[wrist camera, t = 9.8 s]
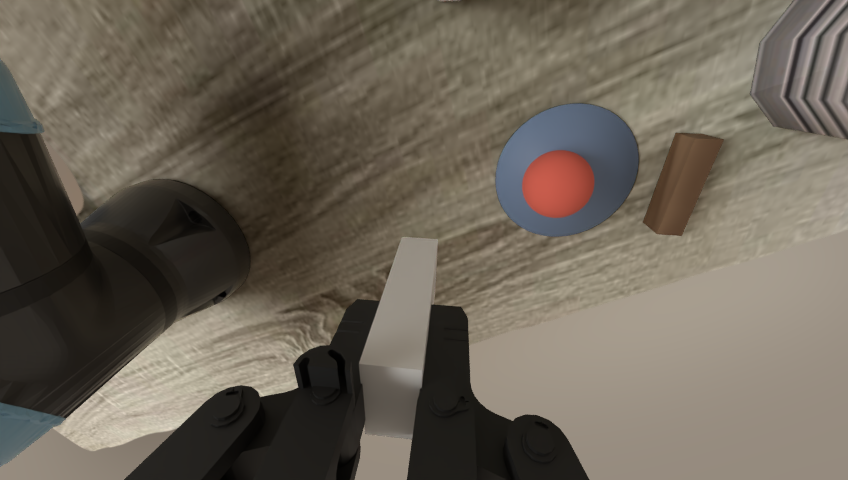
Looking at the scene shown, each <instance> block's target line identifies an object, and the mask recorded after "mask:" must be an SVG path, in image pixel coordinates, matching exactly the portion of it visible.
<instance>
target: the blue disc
mask: <svg viewBox="0 0 848 480" xmlns="http://www.w3.org/2000/svg"><path fill="white" fill-rule="evenodd" d="M555 150H566V151H571V152H574V153H576V154H578V155H580V156H581V157H583V158H584V159H585V160H586V161H587V162H588V164H589V165H590V167H591V169H592V171H593V174H594V190H593V193H592V195H591V197H590V199H589V201H588V202H587V203H586V205H585V206H584V207H583V208H582V209H580V210H579V211H577V212H576V213H574V214H572V215H569V216H566V217H561V218H551V217H546V216H543V215H540V214H538V213H537V212H535V211H534V210H533V209H532V208H531V207H530V206H529V205H528V204H527V202H526V200H525V198H524V195H523V191H522V181H523V177H524V174H525V172H526V170H527V168H528V167H529V165H530V164H531V163H532V162H533V161H534V160H535V159H536V158H538V157H539V156H541V155H543V154H545V153H547V152H550V151H555ZM638 163H639V158H638V149H637V144H636V141H635V138H634V136H633V134H632V132H631V130H630V129H629V127H628V126H627V125H626V124H625V122H624V121H623V120H621V119H620V118H619V117H618V116H617V115H615V114H614V113H612V112H610V111H609V110H606V109H604V108H601V107H598V106H594V105H590V104H581V103H578V104H566V105H560V106H557V107H553V108H550V109H548V110H545V111H543V112H541V113H539V114H537V115H536V116H534V117H532V118H531V119H529V120H528V121H527V122H525V123H524V124H523V125H522V126H521V127H520V128H519V129H518V130H517V131H516V132H515V133H514V134H513V135H512V137H511V138H510V139H509V141H508V142H507V144H506V145H505V147H504V149H503V151H502V153H501V155H500V158H499V161H498V164H497V170H496V190H497V195H498V198H499V201H500V204H501V206H502V207H503V209H504V211H505V212H506V214H507V215H508V216H509V217H510V218H511V219H512V220H513V221H514V222H515V223H516V224H518V225H519V226H520V227H522V228H524V229H526V230H527V231H530V232H533V233H535V234H539V235H544V236H568V235H573V234H577V233H580V232H583V231H586V230H588V229H590V228H593V227H595V226H596V225H598V224H600V223H601V222H603V221H604V220H606V219H607V218H608V217H610V216H611V215H612V214H613V213H614V212H615V211H616V210H617V209H618V208H619V207H620V206H621V205H622V203H623V202H624V200H625V199H626V198H627V196H628V194H629V193H630V191H631V189H632V187H633V184H634V182H635V179H636V175H637V171H638Z"/></svg>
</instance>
